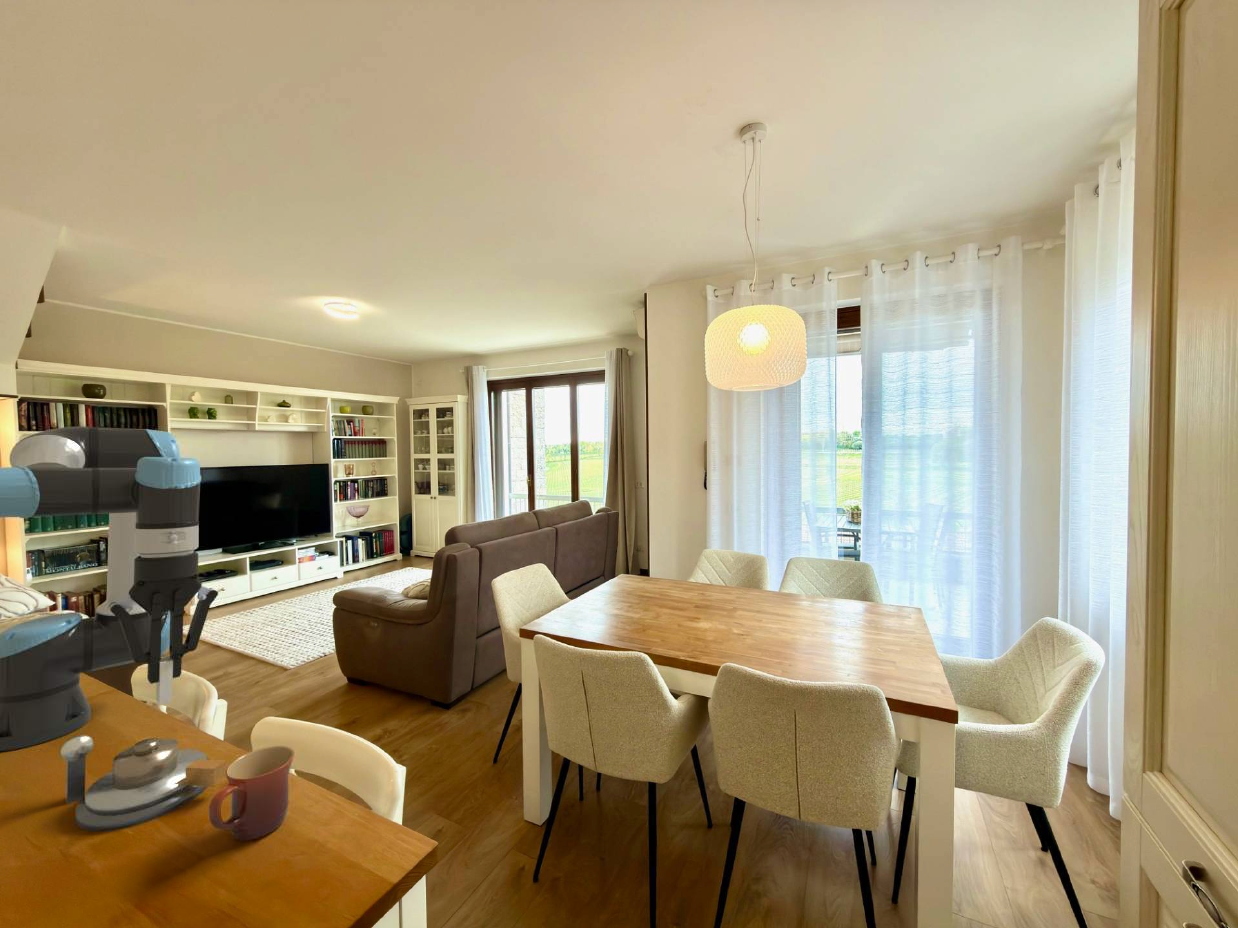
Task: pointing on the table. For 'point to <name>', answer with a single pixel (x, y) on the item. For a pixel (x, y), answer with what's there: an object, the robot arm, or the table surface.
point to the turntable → (155, 785)
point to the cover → (144, 763)
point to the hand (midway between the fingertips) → (163, 699)
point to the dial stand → (76, 765)
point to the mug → (255, 793)
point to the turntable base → (133, 812)
